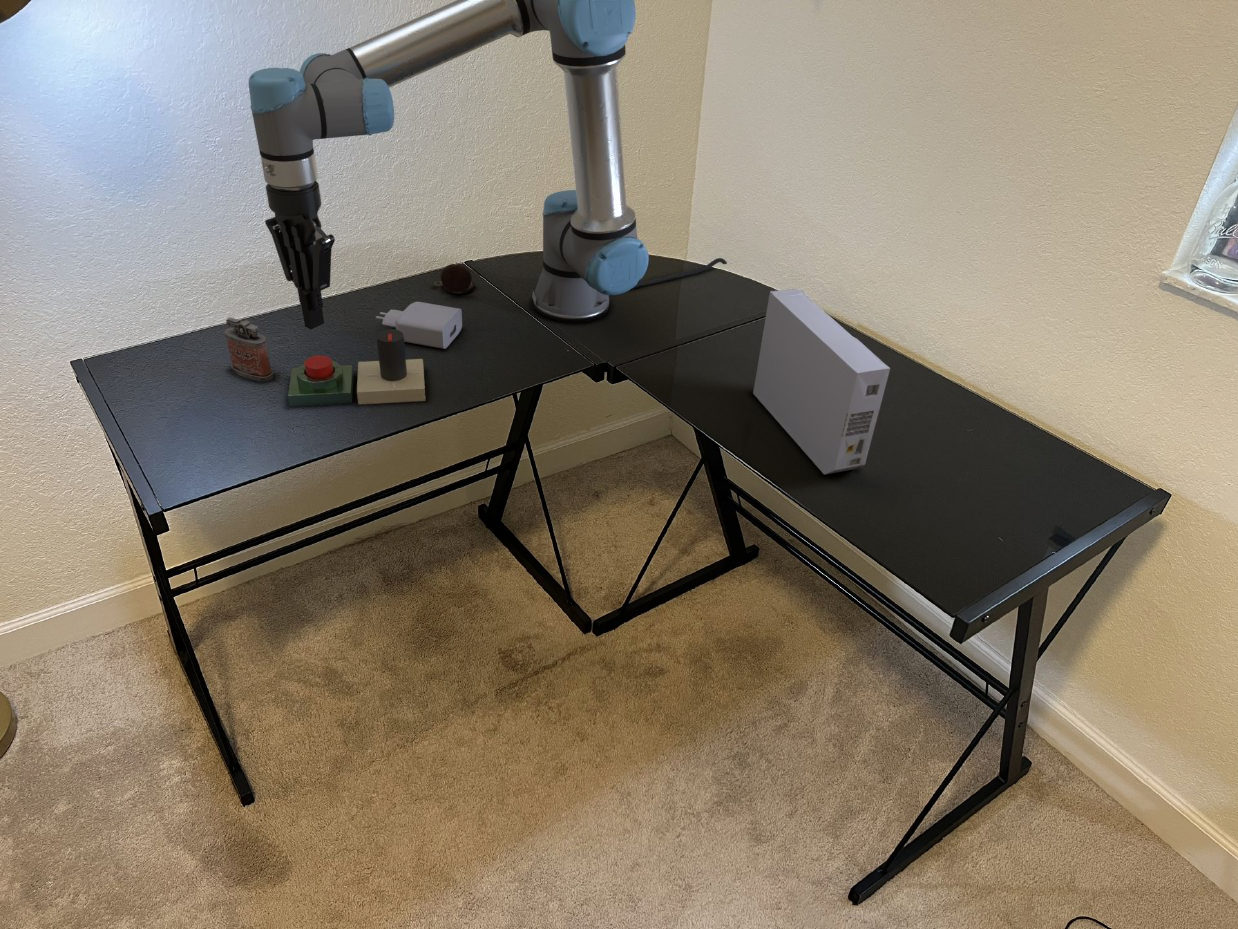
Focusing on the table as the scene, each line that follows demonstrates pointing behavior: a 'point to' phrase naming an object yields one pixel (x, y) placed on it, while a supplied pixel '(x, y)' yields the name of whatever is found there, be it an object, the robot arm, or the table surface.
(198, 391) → the table surface
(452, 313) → the charger
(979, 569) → the table surface
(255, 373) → the lighter
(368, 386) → the hob panel
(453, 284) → the dark brown round lump
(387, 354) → the hob knob
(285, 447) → the table surface
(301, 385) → the box
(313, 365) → the button
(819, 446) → the game console
